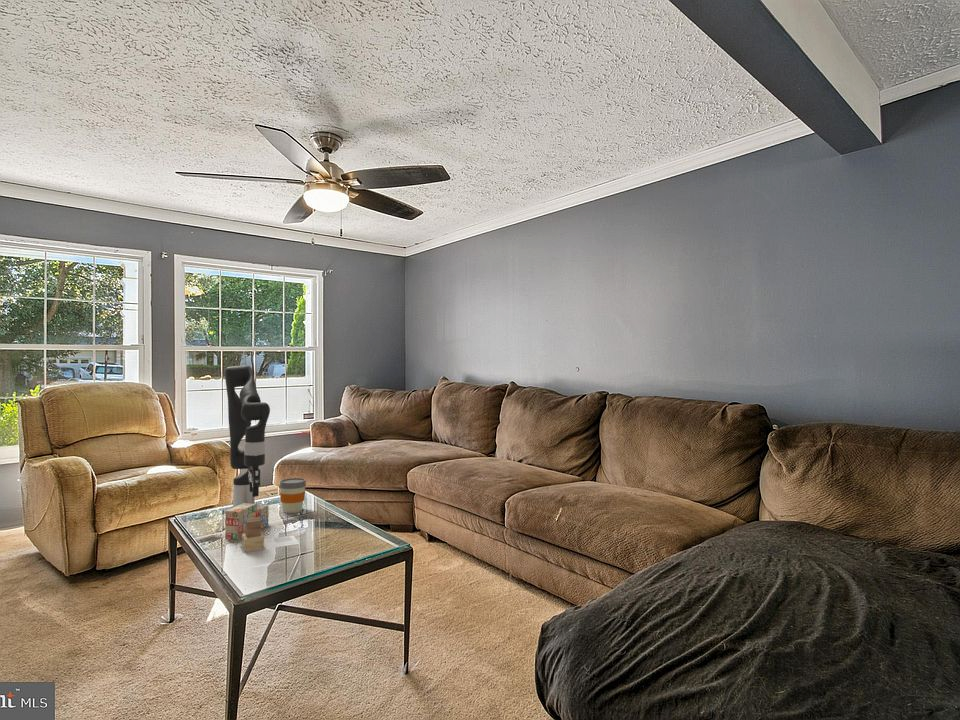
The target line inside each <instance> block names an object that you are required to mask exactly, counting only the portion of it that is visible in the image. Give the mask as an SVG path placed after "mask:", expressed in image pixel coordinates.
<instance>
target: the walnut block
mask: <svg viewBox="0 0 960 720" xmlns="http://www.w3.org/2000/svg"><path fill="white" fill-rule="evenodd" d="M261 532H262V528H261V520H260V518H259V517H258V518H250V519H246V523H245V535H246V537H247V538H250V537H256V536H261Z"/></svg>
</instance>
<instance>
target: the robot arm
mask: <svg viewBox="0 0 960 720" xmlns="http://www.w3.org/2000/svg"><path fill="white" fill-rule="evenodd" d="M224 379H225V387H226V394H227V410H228V412H227V413H228V428H229V429H228V430H229V441H230V442H229V444H230V445H229V447H230V453H229V455H230V456H229V462H230V467H231V469H234V470H247V471H245V472H244V473H242V474H239V475H238V476H235V477H234V478H233V481H232V482H233V483H232V484H233V485H232V493H233V494H232V508H234V507H236V506H238V505H241V504H243V503H252V504H256V503H255V497H259V495H260V494H259V493H260V489H259V488H260V487H261V470H260V466H264V465H265V464H266V444H265V441H266V440H265V439H266V438H265V436H266V432H265V431H266V427H267V423H268V420H269V417H270V413H271V412H270V411H271V407H270V405H269V404H268V403H267V402H262V400H261V397H260V395H259V393H258V390H257V385H256V380H255V375H254V371H253V368H252V367H251V366H250V365H248V364H247V365H246V364H245V365H234V366H233V365H232V366H228V367H226V368H225V371H224ZM239 387H241V389H240V391H239V395H238V394H237V392H236V390H235V389H236V388H239ZM252 421H258V422H257V424H255V425H252ZM243 438H245V440H244V448H239V445H240V443H241V442H242V439H243Z"/></svg>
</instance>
